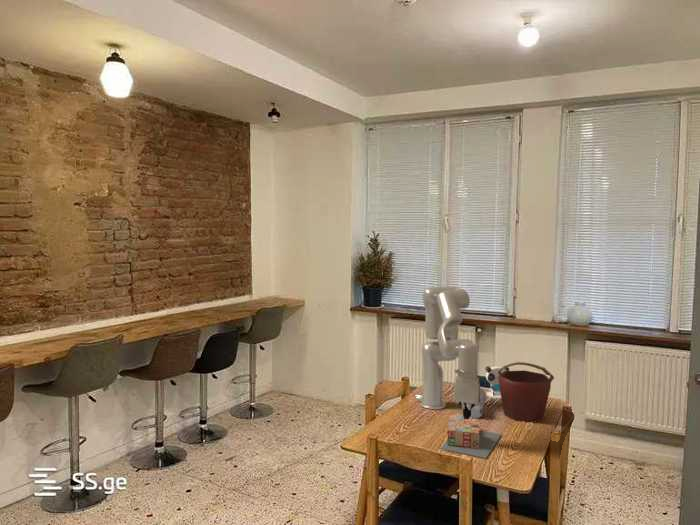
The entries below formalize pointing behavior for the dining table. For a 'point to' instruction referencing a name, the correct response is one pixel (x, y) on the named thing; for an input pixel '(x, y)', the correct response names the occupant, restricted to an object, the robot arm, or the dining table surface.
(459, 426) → the stack of blocks
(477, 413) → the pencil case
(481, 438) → the rubber mat
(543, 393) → the bucket
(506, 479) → the dining table surface
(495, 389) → the panda figurine
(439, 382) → the robot arm
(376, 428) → the dining table surface
